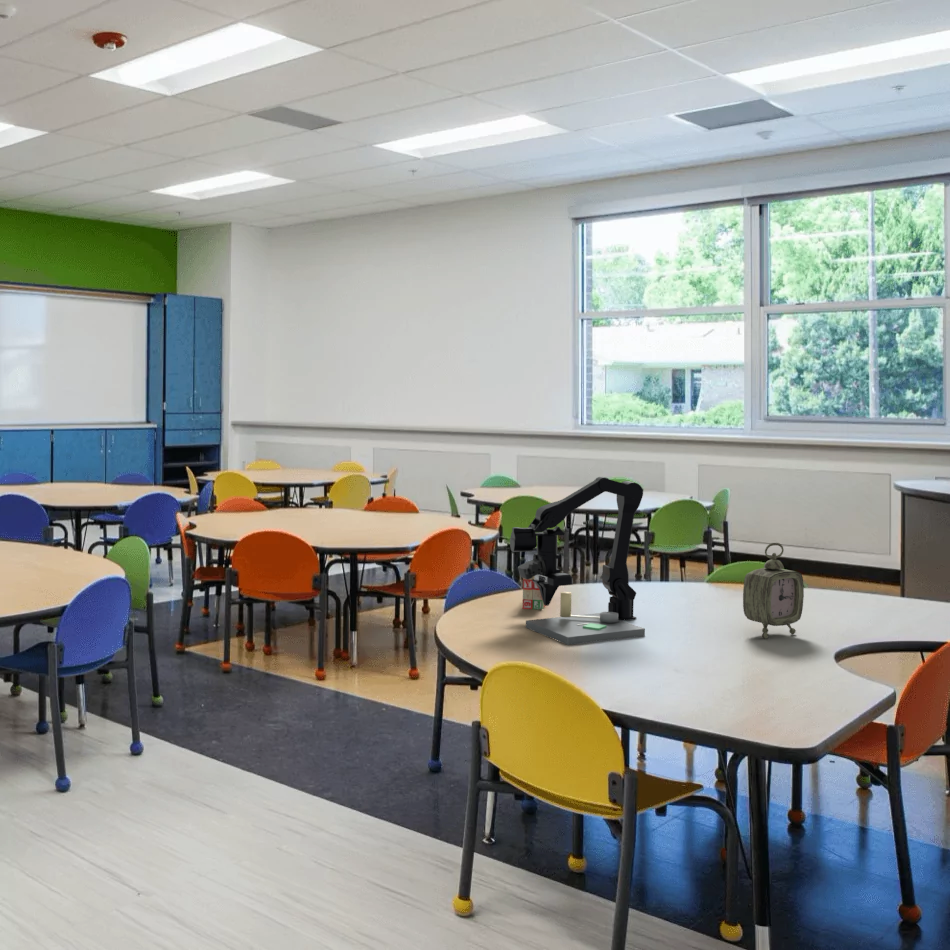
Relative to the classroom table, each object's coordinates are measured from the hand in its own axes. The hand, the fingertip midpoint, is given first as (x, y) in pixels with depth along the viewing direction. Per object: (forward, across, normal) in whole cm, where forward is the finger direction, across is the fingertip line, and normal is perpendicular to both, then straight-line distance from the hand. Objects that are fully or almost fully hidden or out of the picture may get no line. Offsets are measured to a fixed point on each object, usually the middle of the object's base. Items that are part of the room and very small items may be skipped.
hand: (546, 605), depth 290 cm
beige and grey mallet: (+2, +12, +6) cm, 14 cm away
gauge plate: (+4, +16, +3) cm, 17 cm away
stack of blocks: (+5, -25, +12) cm, 28 cm away
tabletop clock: (+5, +40, +47) cm, 62 cm away
